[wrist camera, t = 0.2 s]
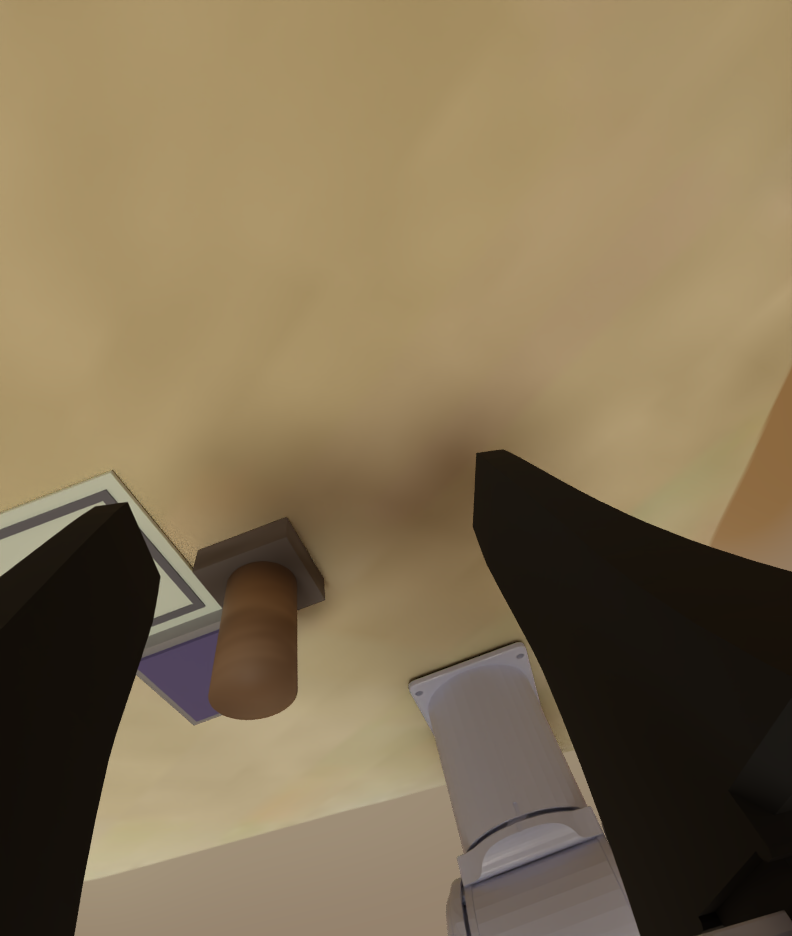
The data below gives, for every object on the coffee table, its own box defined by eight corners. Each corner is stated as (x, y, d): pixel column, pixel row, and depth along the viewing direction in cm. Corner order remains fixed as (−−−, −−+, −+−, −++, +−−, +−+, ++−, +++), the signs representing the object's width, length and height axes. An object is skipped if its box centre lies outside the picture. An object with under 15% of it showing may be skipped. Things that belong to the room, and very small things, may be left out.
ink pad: (290, 674, 28) (289, 693, 27) (197, 709, 28) (193, 728, 27) (232, 602, 24) (229, 620, 23) (124, 642, 24) (116, 662, 23)
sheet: (223, 605, 24) (222, 610, 24) (61, 665, 24) (59, 671, 24) (112, 470, 19) (109, 474, 19) (-90, 546, 19) (-95, 551, 19)
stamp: (323, 578, 24) (332, 704, 19) (243, 608, 25) (227, 742, 19) (286, 516, 22) (283, 638, 16) (197, 549, 22) (163, 683, 16)
